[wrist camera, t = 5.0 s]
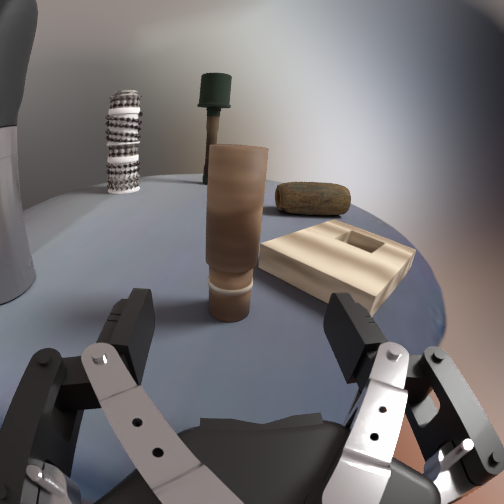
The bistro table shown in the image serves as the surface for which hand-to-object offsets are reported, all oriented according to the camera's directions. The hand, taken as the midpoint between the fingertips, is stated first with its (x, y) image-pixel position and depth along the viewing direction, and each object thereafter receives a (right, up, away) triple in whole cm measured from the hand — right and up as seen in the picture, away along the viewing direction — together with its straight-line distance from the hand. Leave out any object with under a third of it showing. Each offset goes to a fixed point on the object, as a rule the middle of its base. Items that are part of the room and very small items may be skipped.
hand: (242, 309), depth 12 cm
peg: (-2, -3, +13) cm, 13 cm away
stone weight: (+12, +10, +44) cm, 46 cm away
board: (+12, 0, +22) cm, 25 cm away
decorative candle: (-32, +18, +52) cm, 63 cm away
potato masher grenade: (-11, +21, +62) cm, 66 cm away
